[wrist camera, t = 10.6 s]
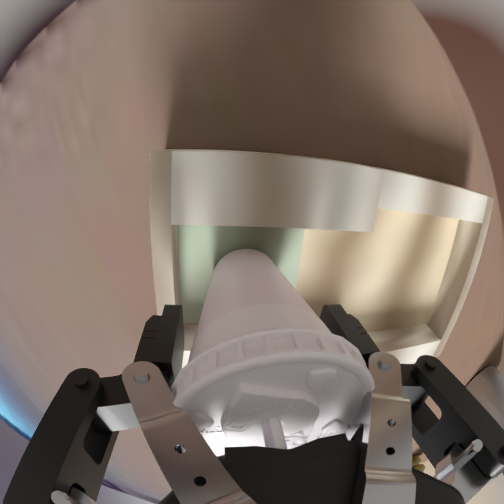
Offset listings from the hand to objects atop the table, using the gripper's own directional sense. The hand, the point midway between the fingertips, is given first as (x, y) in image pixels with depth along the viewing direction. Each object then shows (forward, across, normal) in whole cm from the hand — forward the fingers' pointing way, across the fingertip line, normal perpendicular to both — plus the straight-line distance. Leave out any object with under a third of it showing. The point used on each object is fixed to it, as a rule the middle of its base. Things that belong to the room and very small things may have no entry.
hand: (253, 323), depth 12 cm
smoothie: (+4, 0, 0) cm, 4 cm away
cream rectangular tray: (+6, -6, 0) cm, 9 cm away
